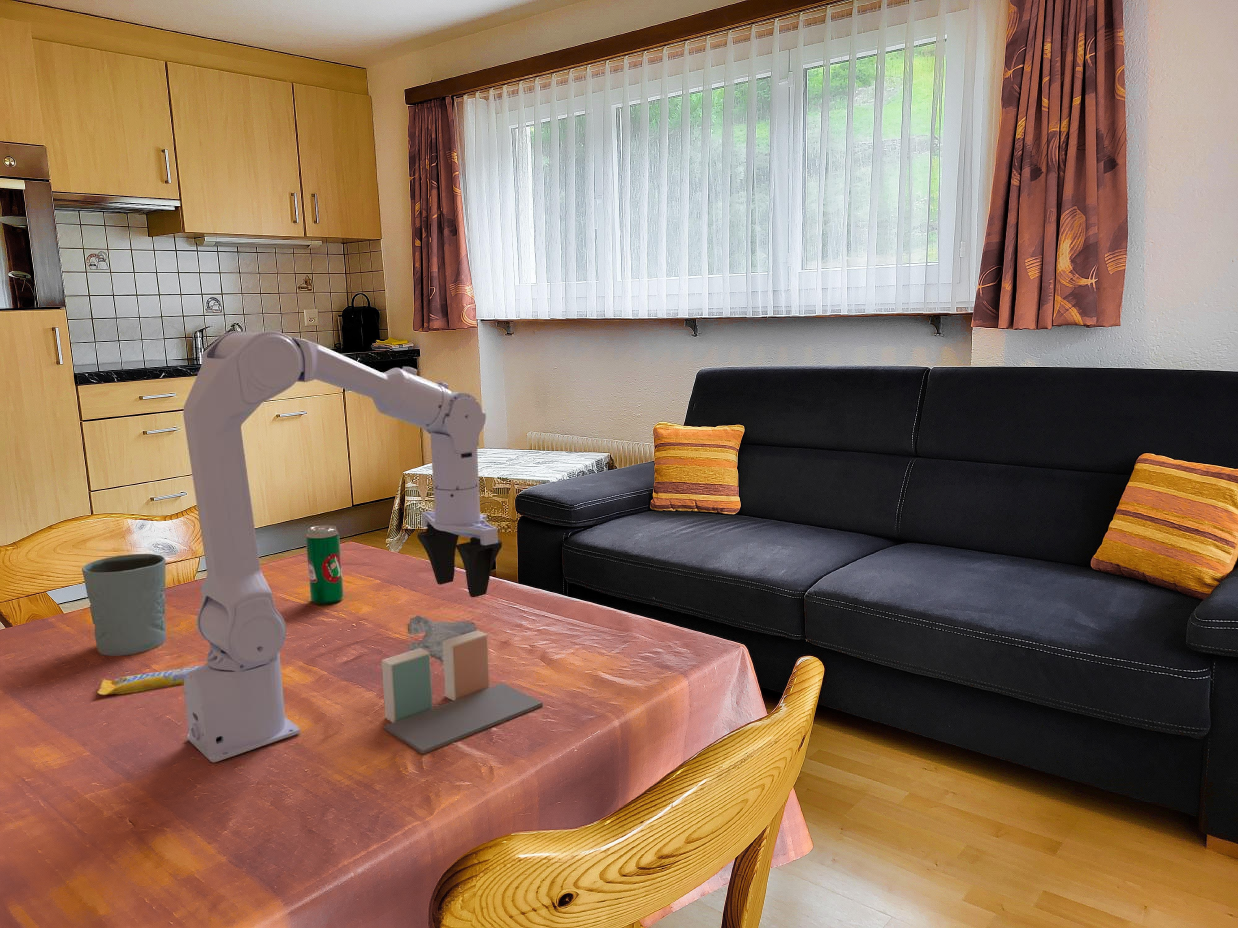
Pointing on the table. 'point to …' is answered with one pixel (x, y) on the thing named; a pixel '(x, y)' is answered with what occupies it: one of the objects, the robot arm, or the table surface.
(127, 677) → the candy bar
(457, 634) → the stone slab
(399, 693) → the beige flat block
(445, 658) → the tan upright block
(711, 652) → the table surface
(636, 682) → the table surface
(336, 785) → the table surface
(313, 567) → the soda can
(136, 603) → the grey green cup
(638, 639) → the table surface
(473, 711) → the mat
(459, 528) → the robot arm
